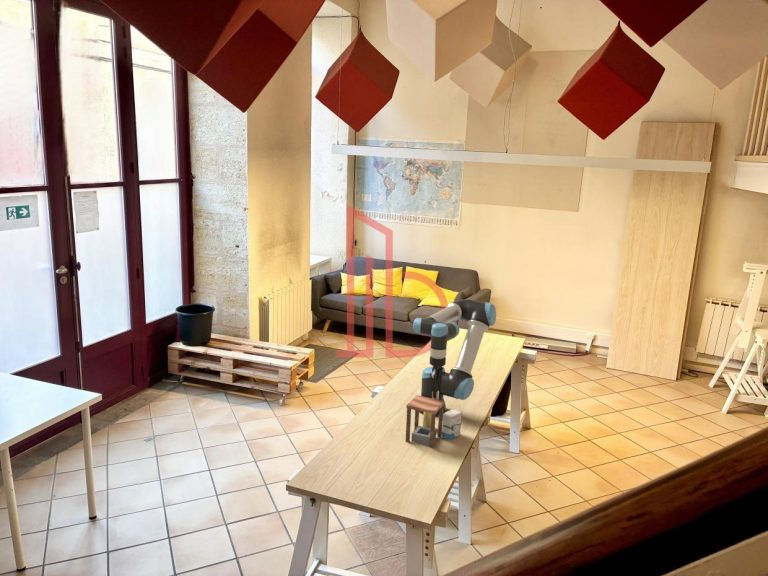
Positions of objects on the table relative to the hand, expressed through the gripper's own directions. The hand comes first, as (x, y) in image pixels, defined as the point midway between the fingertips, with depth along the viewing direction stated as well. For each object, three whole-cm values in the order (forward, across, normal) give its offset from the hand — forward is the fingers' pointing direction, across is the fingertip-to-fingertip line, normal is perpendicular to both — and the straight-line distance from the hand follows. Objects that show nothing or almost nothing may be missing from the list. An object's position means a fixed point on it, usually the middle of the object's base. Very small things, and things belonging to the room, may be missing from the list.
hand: (435, 403), depth 286 cm
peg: (+16, -5, -5) cm, 17 cm away
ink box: (+16, -2, +8) cm, 18 cm away
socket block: (+16, +8, -2) cm, 18 cm away
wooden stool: (+16, +8, -2) cm, 18 cm away
